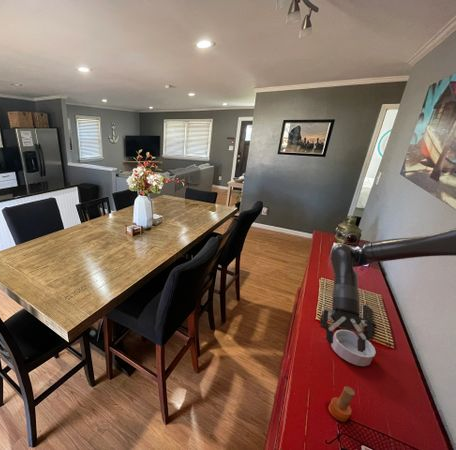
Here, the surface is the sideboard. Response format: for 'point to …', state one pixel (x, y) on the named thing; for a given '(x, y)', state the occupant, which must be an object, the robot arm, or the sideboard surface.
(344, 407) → the brush
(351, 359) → the bowl
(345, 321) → the robot arm
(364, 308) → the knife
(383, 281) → the sideboard surface
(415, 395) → the sideboard surface
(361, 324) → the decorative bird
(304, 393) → the sideboard surface
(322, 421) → the sideboard surface
